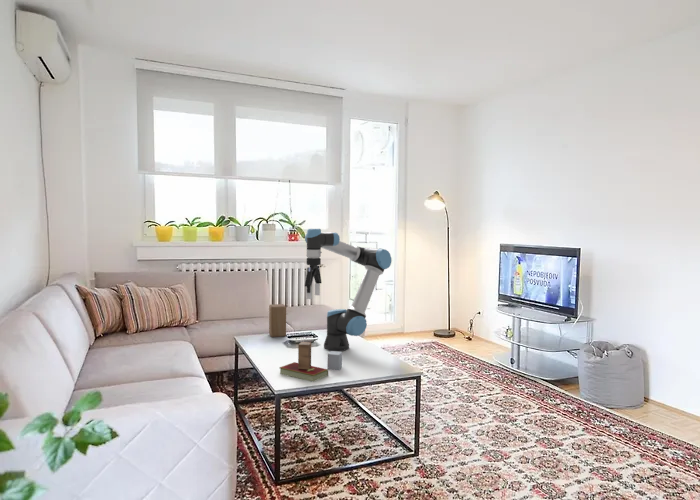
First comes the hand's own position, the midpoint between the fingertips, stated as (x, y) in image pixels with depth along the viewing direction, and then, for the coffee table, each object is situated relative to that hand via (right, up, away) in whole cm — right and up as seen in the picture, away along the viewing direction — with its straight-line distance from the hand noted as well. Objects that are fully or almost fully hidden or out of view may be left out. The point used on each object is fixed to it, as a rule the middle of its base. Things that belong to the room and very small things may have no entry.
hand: (313, 297), depth 257 cm
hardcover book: (-3, -37, -21) cm, 43 cm away
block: (-28, -31, +60) cm, 73 cm away
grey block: (+12, -36, -10) cm, 39 cm away
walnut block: (-3, -33, -21) cm, 39 cm away
